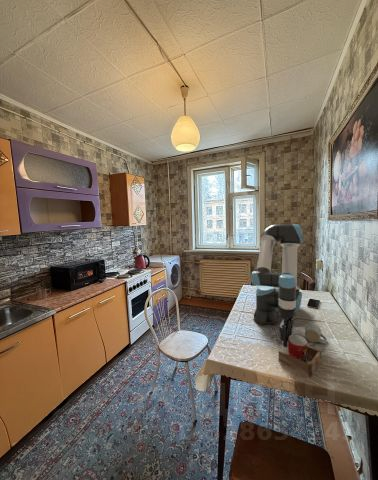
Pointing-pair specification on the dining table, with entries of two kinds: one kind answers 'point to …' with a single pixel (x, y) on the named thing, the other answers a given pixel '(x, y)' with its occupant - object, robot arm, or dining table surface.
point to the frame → (300, 364)
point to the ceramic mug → (314, 333)
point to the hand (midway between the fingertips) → (286, 351)
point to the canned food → (297, 347)
